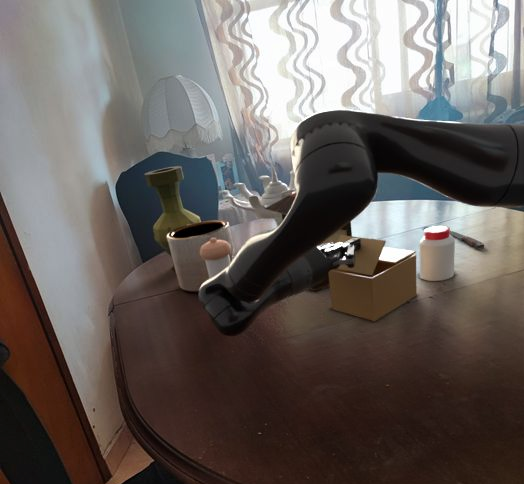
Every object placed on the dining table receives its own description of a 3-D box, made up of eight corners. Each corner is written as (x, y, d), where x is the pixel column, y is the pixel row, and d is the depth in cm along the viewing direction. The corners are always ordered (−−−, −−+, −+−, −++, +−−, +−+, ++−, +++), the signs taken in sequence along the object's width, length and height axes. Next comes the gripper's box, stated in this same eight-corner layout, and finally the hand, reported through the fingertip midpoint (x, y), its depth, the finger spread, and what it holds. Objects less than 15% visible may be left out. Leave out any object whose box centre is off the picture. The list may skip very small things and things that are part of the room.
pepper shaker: (215, 326, 107) (195, 245, 98) (216, 313, 113) (197, 237, 104) (245, 320, 107) (228, 239, 98) (245, 308, 113) (229, 231, 104)
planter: (173, 283, 139) (159, 231, 132) (227, 266, 144) (217, 216, 137) (190, 300, 124) (175, 243, 117) (249, 281, 129) (238, 225, 122)
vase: (159, 266, 158) (132, 174, 144) (203, 253, 162) (182, 163, 148) (169, 278, 144) (140, 178, 130) (217, 264, 148) (195, 166, 134)
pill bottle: (438, 283, 106) (438, 236, 101) (412, 276, 112) (411, 232, 107) (461, 273, 109) (462, 227, 104) (435, 266, 115) (435, 223, 110)
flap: (372, 275, 91) (371, 275, 91) (328, 267, 99) (327, 266, 99) (386, 241, 91) (385, 240, 90) (341, 235, 99) (340, 234, 99)
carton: (374, 321, 95) (371, 274, 91) (332, 309, 104) (327, 266, 99) (416, 295, 103) (416, 251, 98) (373, 286, 111) (371, 245, 107)
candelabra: (252, 277, 132) (233, 178, 119) (222, 250, 162) (204, 168, 149) (358, 247, 139) (351, 150, 126) (311, 226, 169) (301, 146, 156)
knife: (422, 225, 144) (438, 222, 144) (422, 229, 145) (438, 226, 145) (467, 247, 120) (486, 243, 120) (467, 252, 120) (486, 247, 120)
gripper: (320, 256, 79) (383, 227, 88) (270, 248, 89) (332, 222, 97) (325, 297, 83) (385, 264, 91) (276, 284, 92) (335, 256, 101)
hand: (357, 242), depth 94 cm, fingers closed
